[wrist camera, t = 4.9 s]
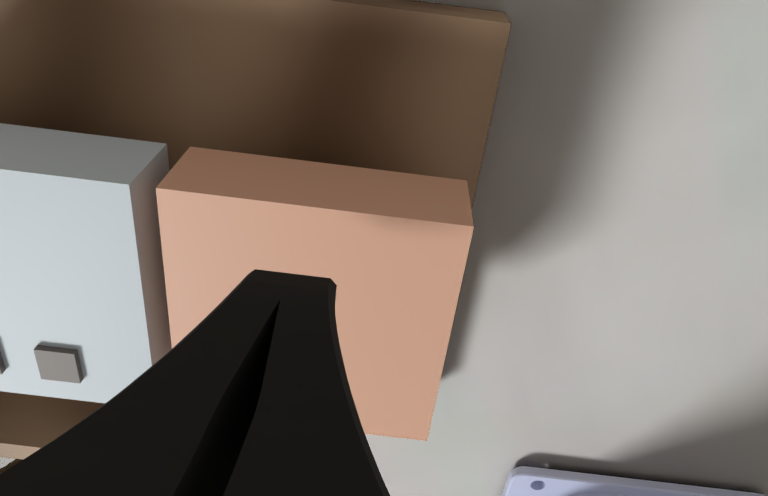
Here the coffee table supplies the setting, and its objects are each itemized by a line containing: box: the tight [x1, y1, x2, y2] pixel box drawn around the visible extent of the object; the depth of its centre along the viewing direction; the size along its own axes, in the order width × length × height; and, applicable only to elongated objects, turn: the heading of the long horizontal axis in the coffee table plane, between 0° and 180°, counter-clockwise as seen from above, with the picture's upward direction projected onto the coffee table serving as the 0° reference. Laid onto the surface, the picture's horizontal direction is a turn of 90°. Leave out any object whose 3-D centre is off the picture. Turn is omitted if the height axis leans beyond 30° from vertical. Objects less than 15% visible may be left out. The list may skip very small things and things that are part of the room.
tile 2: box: [0, 123, 172, 403], centre depth 14 cm, size 6×6×2 cm
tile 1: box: [156, 147, 474, 441], centre depth 14 cm, size 6×6×2 cm
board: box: [0, 0, 511, 459], centre depth 19 cm, size 20×26×4 cm
